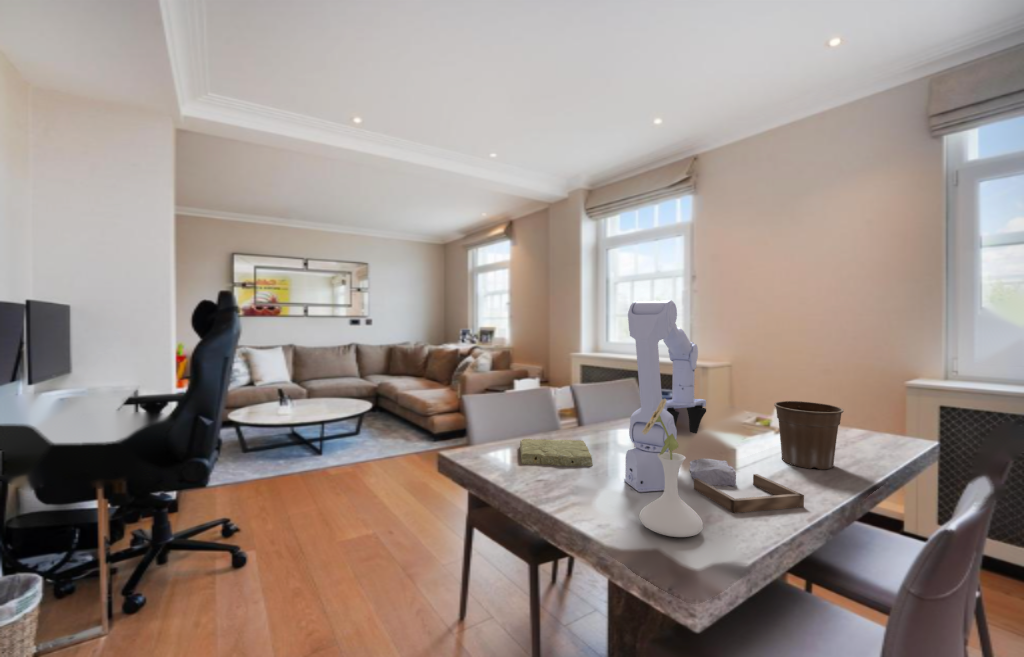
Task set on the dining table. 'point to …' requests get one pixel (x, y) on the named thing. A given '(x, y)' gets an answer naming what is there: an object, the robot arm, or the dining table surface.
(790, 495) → the walnut corral
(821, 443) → the plant pot
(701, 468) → the stone block
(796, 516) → the dining table surface
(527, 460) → the decorative tile
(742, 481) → the dining table surface
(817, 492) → the dining table surface
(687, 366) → the robot arm
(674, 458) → the flower in vase
